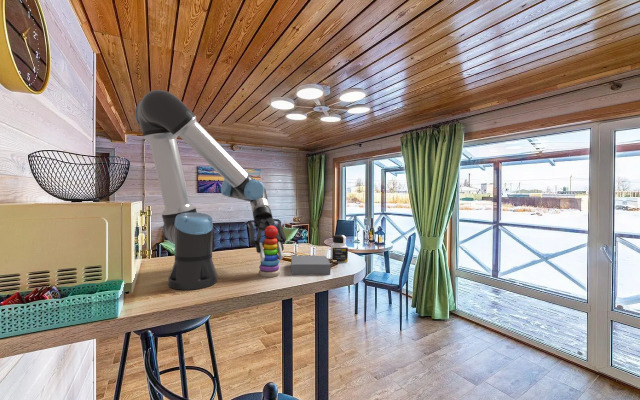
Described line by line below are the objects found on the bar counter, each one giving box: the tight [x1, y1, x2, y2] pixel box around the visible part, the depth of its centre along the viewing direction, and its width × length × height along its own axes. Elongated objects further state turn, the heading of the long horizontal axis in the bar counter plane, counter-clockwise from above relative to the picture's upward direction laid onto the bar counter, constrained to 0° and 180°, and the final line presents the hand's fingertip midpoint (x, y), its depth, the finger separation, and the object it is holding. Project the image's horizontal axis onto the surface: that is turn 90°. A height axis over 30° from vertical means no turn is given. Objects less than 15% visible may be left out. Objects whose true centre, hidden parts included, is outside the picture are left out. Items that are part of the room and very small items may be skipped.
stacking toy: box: [258, 225, 281, 278], centre depth 110 cm, size 8×8×19 cm
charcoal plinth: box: [290, 255, 332, 276], centre depth 119 cm, size 15×15×4 cm
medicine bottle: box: [330, 234, 349, 263], centre depth 136 cm, size 7×7×12 cm
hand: (272, 258), depth 107 cm, fingers open, 6 cm apart
